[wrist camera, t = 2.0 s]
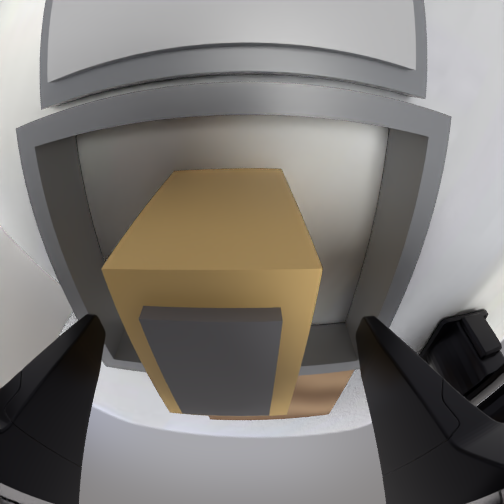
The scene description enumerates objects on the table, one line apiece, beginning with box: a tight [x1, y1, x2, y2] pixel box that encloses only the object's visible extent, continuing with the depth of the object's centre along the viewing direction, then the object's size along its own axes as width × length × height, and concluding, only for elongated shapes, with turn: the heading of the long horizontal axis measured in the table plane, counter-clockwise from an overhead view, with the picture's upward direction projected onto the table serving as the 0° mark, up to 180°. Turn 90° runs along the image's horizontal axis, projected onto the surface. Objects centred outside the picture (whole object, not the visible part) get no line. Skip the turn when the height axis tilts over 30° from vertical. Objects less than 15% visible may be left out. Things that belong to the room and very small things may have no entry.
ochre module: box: [101, 168, 323, 416], centre depth 10 cm, size 7×4×7 cm, turn 0°
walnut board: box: [209, 370, 354, 420], centre depth 20 cm, size 12×12×1 cm
